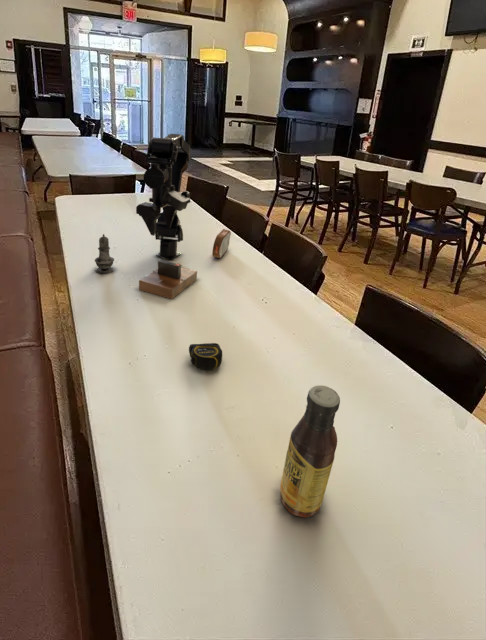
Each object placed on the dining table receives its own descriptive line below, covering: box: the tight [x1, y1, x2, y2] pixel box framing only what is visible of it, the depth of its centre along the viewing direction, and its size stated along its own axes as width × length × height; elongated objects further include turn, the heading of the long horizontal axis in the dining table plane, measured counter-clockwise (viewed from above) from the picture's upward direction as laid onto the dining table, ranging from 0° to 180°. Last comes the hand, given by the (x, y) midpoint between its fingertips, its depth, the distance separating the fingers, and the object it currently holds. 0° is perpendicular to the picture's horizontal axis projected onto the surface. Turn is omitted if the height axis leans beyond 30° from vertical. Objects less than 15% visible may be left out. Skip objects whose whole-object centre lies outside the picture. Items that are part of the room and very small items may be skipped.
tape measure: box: [188, 342, 223, 371], centre depth 88 cm, size 7×7×4 cm
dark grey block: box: [157, 259, 182, 279], centre depth 122 cm, size 7×2×4 cm, turn 66°
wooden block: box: [138, 266, 198, 300], centre depth 123 cm, size 15×11×3 cm
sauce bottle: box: [279, 384, 341, 518], centre depth 57 cm, size 6×6×20 cm
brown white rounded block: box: [211, 228, 232, 259], centre depth 149 cm, size 15×3×8 cm, turn 164°
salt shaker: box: [94, 233, 115, 275], centre depth 127 cm, size 6×6×12 cm
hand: (160, 231), depth 128 cm, fingers open, 9 cm apart
